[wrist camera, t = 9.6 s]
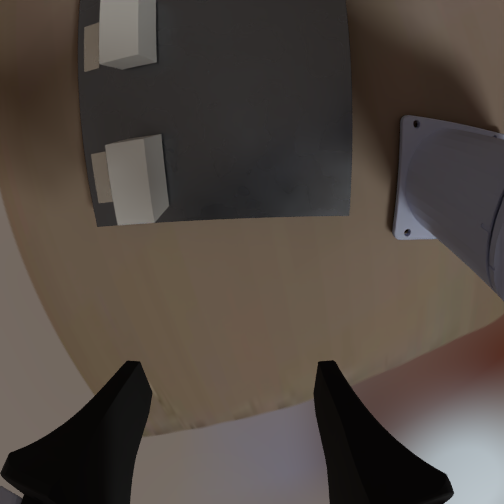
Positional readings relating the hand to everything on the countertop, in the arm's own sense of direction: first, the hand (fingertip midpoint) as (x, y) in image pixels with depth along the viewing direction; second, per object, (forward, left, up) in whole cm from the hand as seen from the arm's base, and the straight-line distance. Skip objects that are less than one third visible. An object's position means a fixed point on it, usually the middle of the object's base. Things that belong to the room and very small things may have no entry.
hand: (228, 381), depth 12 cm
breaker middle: (+5, -15, -8) cm, 17 cm away
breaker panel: (+1, -15, -9) cm, 18 cm away
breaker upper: (+4, -7, -8) cm, 11 cm away
